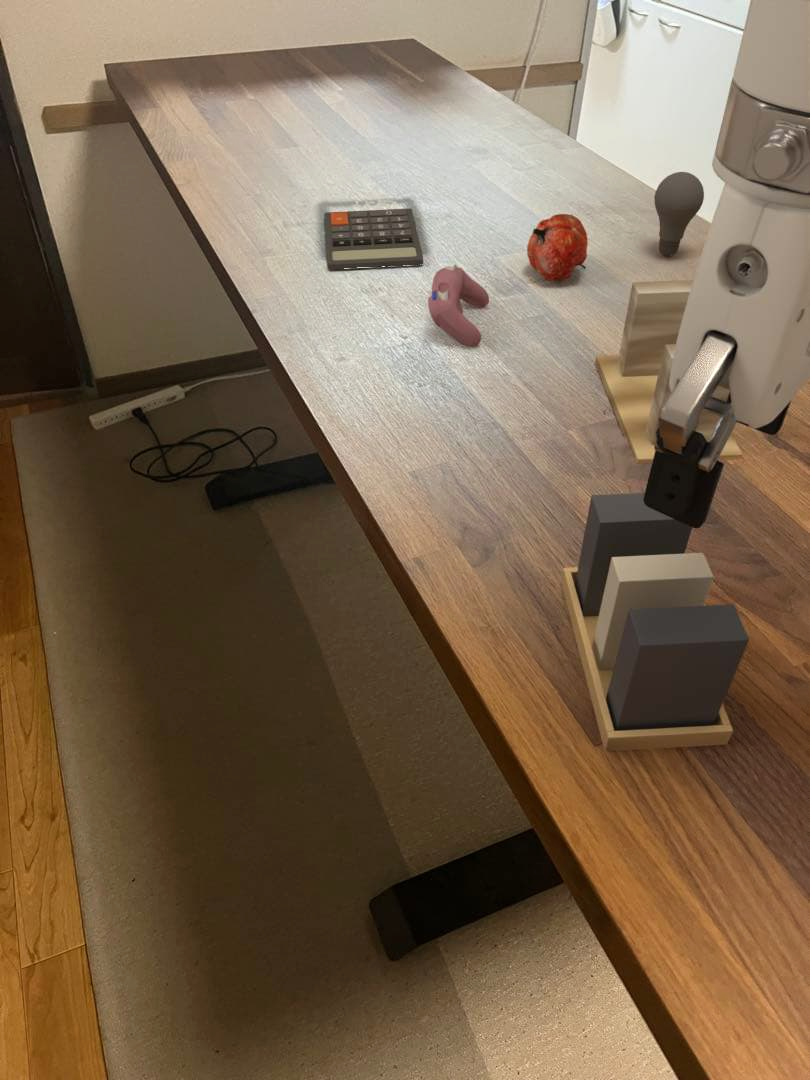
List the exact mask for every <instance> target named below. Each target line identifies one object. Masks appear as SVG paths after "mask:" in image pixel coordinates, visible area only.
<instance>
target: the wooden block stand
mask: <svg viewBox="0 0 810 1080" xmlns="http://www.w3.org/2000/svg"><path fill="white" fill-rule="evenodd" d="M693 280H694V279H684V280H683V279H682V280H681V279H680V280H659V281H658V280H657V281H656V280H655V281H632V283H631V288H630V292H629V294H630V295H629V300H628V304H627V311H626V316H625V321H624V327H623V332H622V337H621V342H620V346H619V353H618V354H605V355H596V356H595V360H594V361H595V362H594V364H595V367H596V369H597V372H598V375H599V378H600V380H601V382H602V385H603V387H604V390H605V392H606V395H607V397H608V400H609V403H610V406H611V407H612V410H613V412H614V415H615V417H616V420H617V422H618V426H619V428H620V430H621V433H622V435H623V437H624V438H626V440H627V443H628V446H629V448H630V450H631V453H632V456H633V458H634V460H635V463H636V464H637V465H644V464H645V465H647V464H652V462H653V458H654V454H655V449H654V446H655V442H656V440H657V437H656V435H657V434H656V432H657V429H658V428H659V415H660V412H661V410H662V408H663V406H664V404H665V403H666V401H667V399H668V398H669V396H670V395H671V390H670V387H669V378H670V371H671V365H672V360H673V355H674V350H675V346H676V342H677V338H678V334H679V330H680V326H681V322H682V318H683V315H684V311H685V308H686V304H687V300H688V297H689V293H690V290H691V287H692V283H693ZM729 392H730V390H729V389H726V388H723V387H721V386H717V388H716V389H715V391H714V392H713V394H712V397H715V398H717V399H720V400H723V401H725V402H727V399H728V396H729ZM719 419H720V416H718V415H715V414H713V413H710V412H707V411H705V410H702V412H701V415H700V417H699V422H698V427H697V428H696V430H695V431H696V432H699V433H701V434H703V436H704V437H705V439H706V440H707V442H708V441H709V439H710V437H711V435H712V433H713V431H714V429H715V427H716V425H717V423H718V421H719ZM742 458H743V452H742V451H741V448H740V447H739V445H738V443H737V442H736V440H735V437H734V436H733V434H732V433H731V434H730V436H729V438H728V440H727V442H726V444H725V446H724V448H723V450H722V452H721V454H720V456H719V458H718V461H735V460H742Z"/></svg>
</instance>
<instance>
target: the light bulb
mask: <svg viewBox="0 0 810 1080" xmlns="http://www.w3.org/2000/svg"><path fill="white" fill-rule="evenodd" d="M704 191H705V190H704V186H703V184H702V182H701V181H700V179H699V178H698V177H697V176H696V175H694V174H692V173H691V172H687V171H678V172H672V173H671V174H669V175H667V176H666V177H665V178H663V179H662V181H660V183H658V186H657V187H656V190H655V193H654V197H653V198H654V208H655V211H656V213H657V214H656V215H657V216H658V221H659V231H658V237H659V242H658V252H659V254H662V255H663V256H664V257H667V258H668V257H671V256H673V255H676V254H677V253H678V251H679V247H680V244H681V240H682V239H683V238H684V235H685V232H686V230H687V228H688V225H689V223H690V222H691V220H693V218H694V217H695V216H696V215H697V214H698V212H699V211H700V210H701V207H702V206H703V203H704V199H705V192H704Z"/></svg>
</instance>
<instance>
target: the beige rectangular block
mask: <svg viewBox="0 0 810 1080" xmlns="http://www.w3.org/2000/svg"><path fill="white" fill-rule="evenodd" d="M714 579H715V577H714V574H713V572H712V569H711V568H710V565H709V563H708V560H707V558H706V556H705V553H704V552H690V553H687V552H685V553H684V554H665V555H645V556H624V557H612V558H611V563H610V567H609V572H608V576H607V581H606V585H605V590H604V594H603V599H602V603H601V608H600V612H599V617H598V622H597V626H596V631H595V635H594V640H593V644H592V647H593V651H594V654H595V658H596V662H597V665H598V669H599V670H604V669H614V665H615V661H616V657H617V654H618V650H619V646H620V642H621V638H622V634H623V630H624V626H625V622H626V618H627V615H628V611H629V610H630V609H648V608H667V607H687V606H705V603H706V600H707V598H708V594H709V591H710V589H711V586H712V583H713V580H714Z"/></svg>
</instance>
